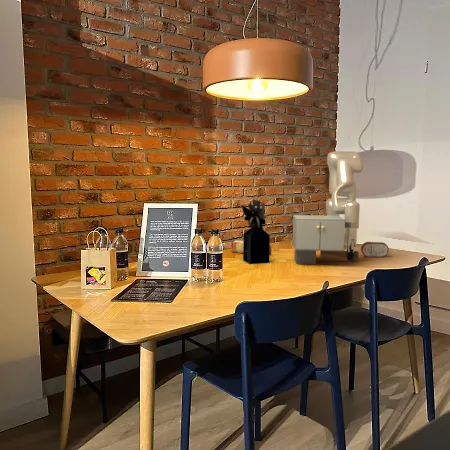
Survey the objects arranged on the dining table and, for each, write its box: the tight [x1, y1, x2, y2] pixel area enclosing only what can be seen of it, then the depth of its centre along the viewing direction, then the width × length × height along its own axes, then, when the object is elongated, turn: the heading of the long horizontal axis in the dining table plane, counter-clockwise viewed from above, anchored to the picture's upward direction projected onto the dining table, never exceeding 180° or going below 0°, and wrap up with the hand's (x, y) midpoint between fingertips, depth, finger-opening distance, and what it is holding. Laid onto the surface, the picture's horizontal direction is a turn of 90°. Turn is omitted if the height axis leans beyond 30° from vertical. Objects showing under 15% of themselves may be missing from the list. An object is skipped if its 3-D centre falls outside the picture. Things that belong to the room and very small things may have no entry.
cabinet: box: [292, 214, 345, 265], centre depth 225 cm, size 20×24×24 cm
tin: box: [360, 241, 390, 258], centre depth 244 cm, size 15×3×8 cm, turn 84°
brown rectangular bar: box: [319, 250, 360, 262], centre depth 233 cm, size 2×20×5 cm, turn 86°
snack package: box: [232, 239, 272, 256], centre depth 250 cm, size 22×7×7 cm, turn 61°
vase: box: [241, 195, 271, 265], centre depth 225 cm, size 14×12×35 cm
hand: (349, 258), depth 233 cm, fingers closed on brown rectangular bar, 1 cm apart
